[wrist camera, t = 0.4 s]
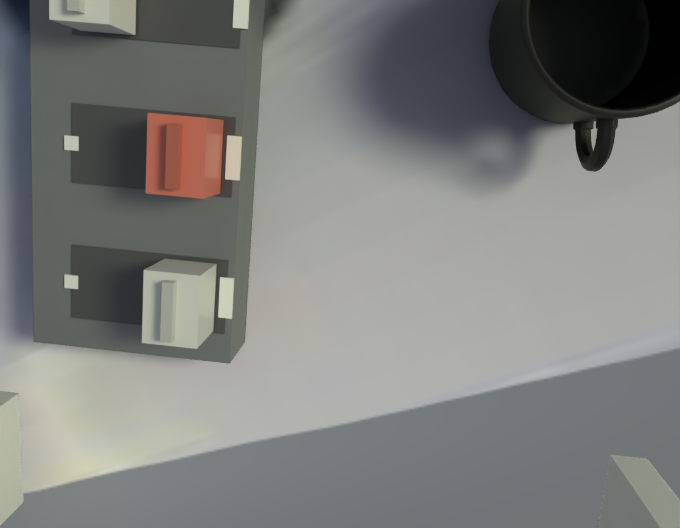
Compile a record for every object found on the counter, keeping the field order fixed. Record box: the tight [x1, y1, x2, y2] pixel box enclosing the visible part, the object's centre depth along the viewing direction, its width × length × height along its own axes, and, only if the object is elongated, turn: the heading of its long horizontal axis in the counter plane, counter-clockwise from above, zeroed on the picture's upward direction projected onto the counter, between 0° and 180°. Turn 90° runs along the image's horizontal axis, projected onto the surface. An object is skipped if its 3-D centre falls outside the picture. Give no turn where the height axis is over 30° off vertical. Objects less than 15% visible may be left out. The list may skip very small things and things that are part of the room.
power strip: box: [30, 0, 265, 363], centre depth 36 cm, size 30×12×4 cm, turn 175°
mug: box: [489, 0, 680, 172], centre depth 32 cm, size 9×12×9 cm
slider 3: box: [142, 259, 217, 349], centre depth 34 cm, size 4×3×4 cm
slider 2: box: [146, 113, 224, 199], centre depth 32 cm, size 4×3×4 cm
